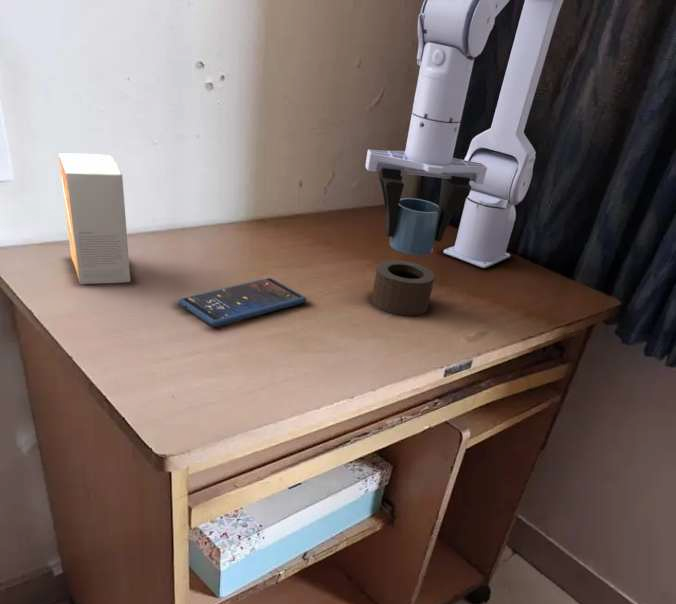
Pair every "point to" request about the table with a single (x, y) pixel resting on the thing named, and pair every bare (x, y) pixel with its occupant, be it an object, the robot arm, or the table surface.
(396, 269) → the brown short cylinder
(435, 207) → the cup
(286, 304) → the smartphone
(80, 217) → the small box
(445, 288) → the table surface
